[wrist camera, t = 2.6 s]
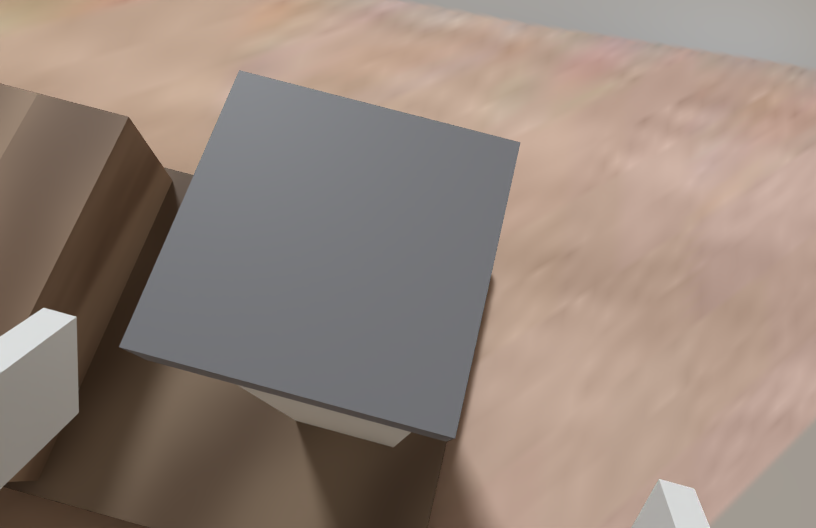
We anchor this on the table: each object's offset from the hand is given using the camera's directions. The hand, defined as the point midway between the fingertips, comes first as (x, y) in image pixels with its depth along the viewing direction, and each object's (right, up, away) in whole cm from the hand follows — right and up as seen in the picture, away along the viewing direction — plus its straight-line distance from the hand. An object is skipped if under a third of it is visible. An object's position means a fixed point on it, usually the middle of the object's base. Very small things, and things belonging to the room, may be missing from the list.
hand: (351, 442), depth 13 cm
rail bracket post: (-1, -1, +11) cm, 11 cm away
